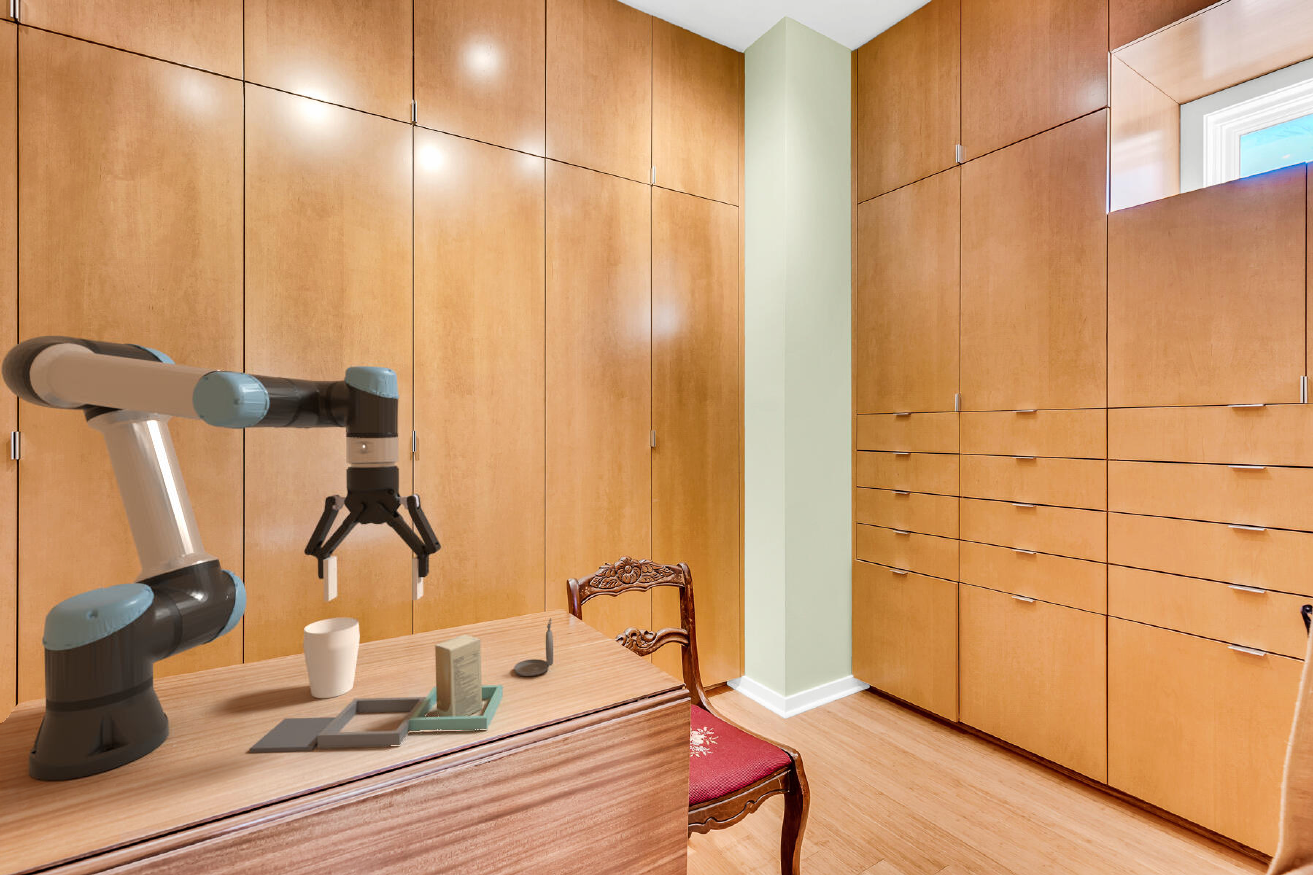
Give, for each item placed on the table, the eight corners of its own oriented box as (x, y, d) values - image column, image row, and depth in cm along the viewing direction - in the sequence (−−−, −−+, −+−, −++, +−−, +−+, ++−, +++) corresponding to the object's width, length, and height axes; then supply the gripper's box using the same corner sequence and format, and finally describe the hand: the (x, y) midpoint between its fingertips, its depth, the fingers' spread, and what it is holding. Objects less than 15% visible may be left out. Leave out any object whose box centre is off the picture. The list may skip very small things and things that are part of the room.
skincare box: (467, 702, 103) (466, 632, 103) (483, 709, 101) (482, 637, 100) (434, 717, 98) (433, 643, 98) (450, 724, 95) (449, 649, 95)
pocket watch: (507, 671, 116) (507, 620, 116) (542, 658, 123) (542, 610, 122) (532, 683, 111) (531, 630, 111) (567, 669, 117) (567, 619, 117)
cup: (336, 704, 103) (335, 635, 102) (291, 699, 104) (290, 631, 104) (371, 682, 111) (370, 618, 111) (329, 678, 113) (328, 615, 113)
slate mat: (249, 752, 87) (249, 748, 87) (284, 722, 96) (284, 718, 96) (312, 750, 88) (312, 746, 88) (341, 720, 97) (341, 716, 97)
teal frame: (409, 732, 93) (409, 719, 93) (434, 697, 105) (434, 686, 105) (486, 730, 94) (486, 717, 94) (502, 696, 106) (502, 684, 105)
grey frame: (317, 748, 88) (317, 735, 88) (354, 710, 100) (354, 698, 100) (399, 746, 89) (399, 733, 89) (426, 708, 101) (426, 696, 101)
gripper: (278, 466, 90) (279, 606, 90) (445, 466, 91) (446, 603, 91) (305, 463, 97) (306, 592, 97) (459, 463, 98) (460, 590, 99)
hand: (374, 598), depth 94 cm, fingers open, 13 cm apart
